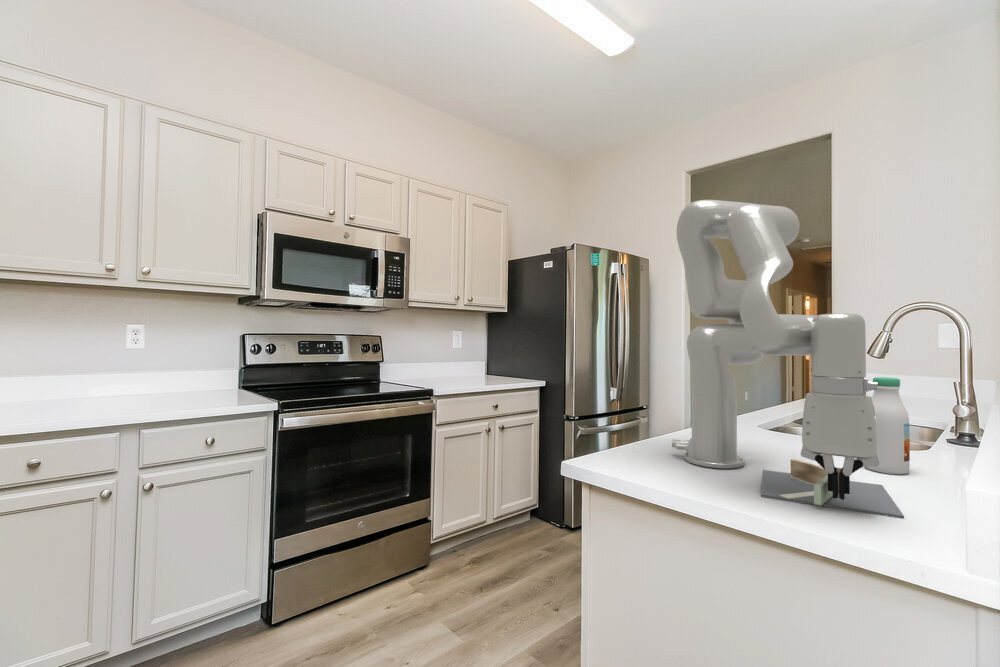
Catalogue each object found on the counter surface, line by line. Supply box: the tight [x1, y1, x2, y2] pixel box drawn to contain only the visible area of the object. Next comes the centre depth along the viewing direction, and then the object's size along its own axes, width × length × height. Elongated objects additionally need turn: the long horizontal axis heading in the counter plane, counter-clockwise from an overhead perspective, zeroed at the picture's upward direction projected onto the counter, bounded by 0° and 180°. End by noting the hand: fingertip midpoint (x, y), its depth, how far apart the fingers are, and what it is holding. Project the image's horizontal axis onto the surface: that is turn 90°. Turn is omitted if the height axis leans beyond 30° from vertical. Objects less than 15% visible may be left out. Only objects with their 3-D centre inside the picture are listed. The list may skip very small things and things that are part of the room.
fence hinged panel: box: [814, 475, 833, 506], centre depth 83 cm, size 11×1×3 cm, turn 132°
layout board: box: [760, 469, 905, 519], centre depth 88 cm, size 20×18×1 cm
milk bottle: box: [865, 376, 911, 475], centre depth 103 cm, size 8×8×20 cm
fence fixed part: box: [790, 458, 842, 493], centre depth 92 cm, size 10×2×5 cm, turn 15°
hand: (838, 496), depth 79 cm, fingers closed
